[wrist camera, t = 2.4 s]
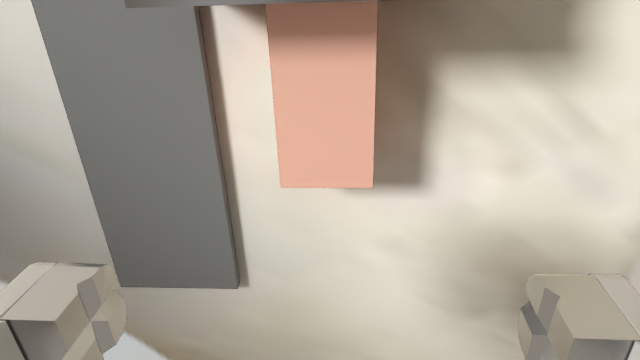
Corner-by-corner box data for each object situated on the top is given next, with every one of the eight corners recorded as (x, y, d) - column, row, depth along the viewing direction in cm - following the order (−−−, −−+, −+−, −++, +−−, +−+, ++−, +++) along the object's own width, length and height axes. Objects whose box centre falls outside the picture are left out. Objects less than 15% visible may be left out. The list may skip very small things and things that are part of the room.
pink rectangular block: (290, 155, 22) (280, 187, 19) (265, -201, 16) (244, -239, 13) (369, 154, 22) (372, 187, 19) (377, -208, 15) (384, -248, 12)
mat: (125, 280, 26) (120, 286, 26) (37, -9, 19) (28, -8, 18) (240, 282, 26) (237, 288, 25) (195, -14, 18) (190, -13, 18)
